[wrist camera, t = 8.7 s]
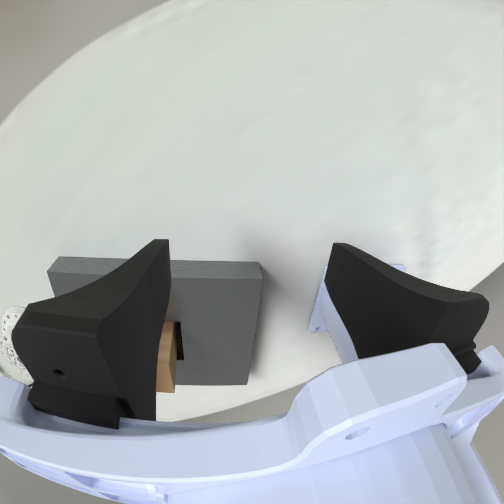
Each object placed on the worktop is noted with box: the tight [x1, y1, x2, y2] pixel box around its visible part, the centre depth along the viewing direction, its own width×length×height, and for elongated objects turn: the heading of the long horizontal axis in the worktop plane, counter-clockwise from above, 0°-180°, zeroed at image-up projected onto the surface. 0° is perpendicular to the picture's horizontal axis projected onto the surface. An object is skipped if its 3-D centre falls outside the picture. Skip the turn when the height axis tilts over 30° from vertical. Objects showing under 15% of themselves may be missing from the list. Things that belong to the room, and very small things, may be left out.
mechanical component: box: [0, 307, 33, 379], centre depth 22 cm, size 10×4×10 cm
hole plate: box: [47, 257, 263, 385], centre depth 24 cm, size 18×14×2 cm
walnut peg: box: [156, 321, 179, 393], centre depth 21 cm, size 4×4×7 cm
